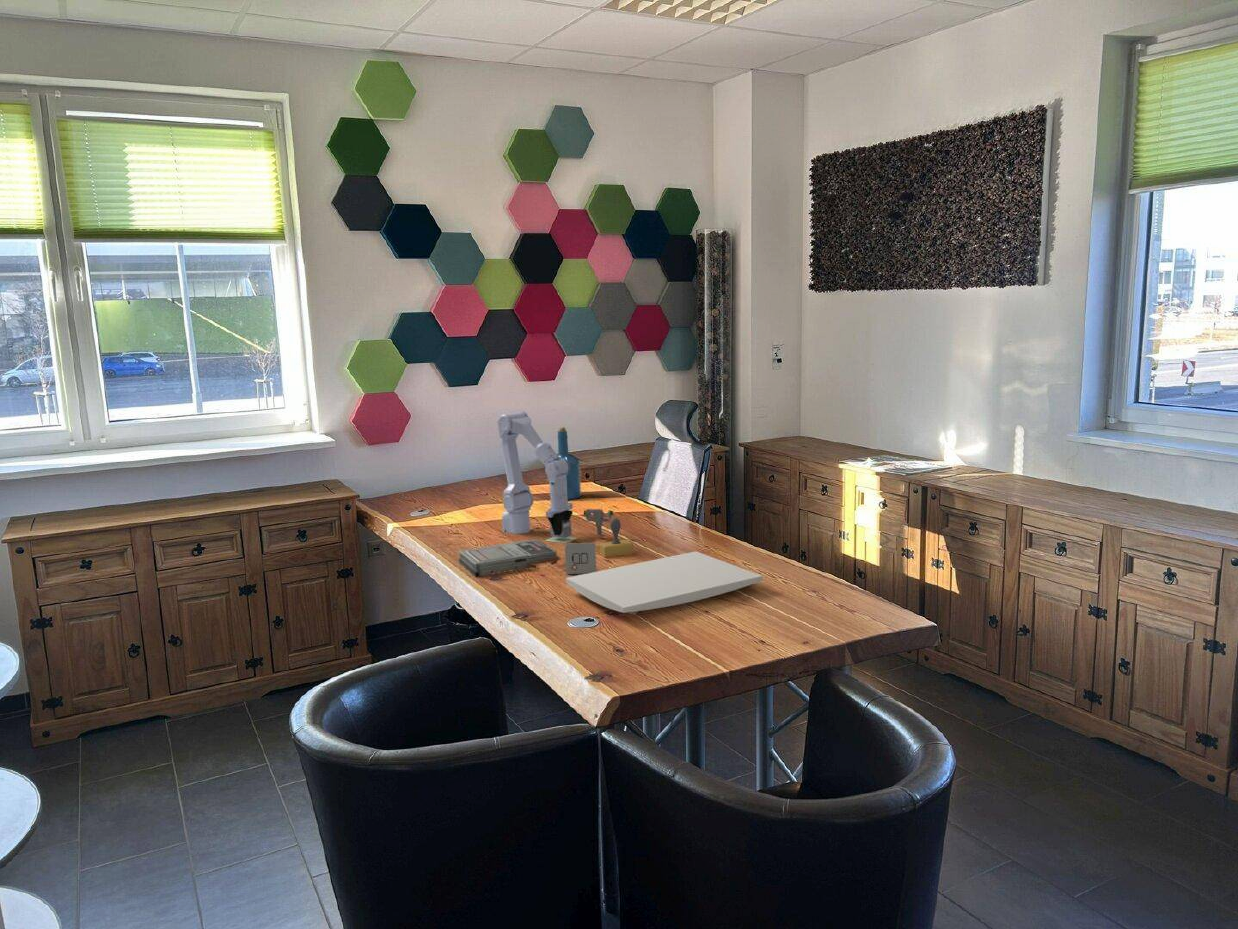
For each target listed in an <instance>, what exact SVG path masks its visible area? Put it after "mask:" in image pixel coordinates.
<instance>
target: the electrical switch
mask: <svg viewBox="0 0 1238 929" xmlns="http://www.w3.org/2000/svg"><path fill="white" fill-rule="evenodd" d="M596 548H597V547H596V543H595V542H577V543H576V542H575V543H573V542H572V543H571V542H569V543H565V545H564V555H565V556H564V557H565V560H564V561H565V573H566V575H583V574H587V573H593V572H597V557H596V555H597V554H596V553H597V551H596ZM574 567H575V569H574Z"/></svg>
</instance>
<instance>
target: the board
mask: <svg viewBox="0 0 1238 929" xmlns="http://www.w3.org/2000/svg"><path fill="white" fill-rule="evenodd" d="M761 581H763V575H761V574H759V573H756V572H754V571H753V572H752V571H750V570H747V569H744V568H742V567H739V566H736V565H734V564H731V563H728V562H726V561H723V560H720V559H717V558H714V557H712V556H709V555H707V554H704V553H701V552H699V551H691V552H686V553H681V554H677V555H673V556H672V555H671V556H666V557H662V558H657V559H656V558H655V559H653V560H648V561H642V562H637V563H632V564H628V565H622V566H618V567H612V568H609V569H603V570H598V571H596V572H593V573H588V574H577V575H574V576H569V577H566V578H565V583H566V584H567V585H569V587H571V588H572V589H574V590H575V591H577V592H578V593H579V594H581V595H582V596H583V597H586V598H587V599H588V600H590V601H592V602H594V603H595V604H598V605H600V606H602V607H604V608H608V609H609V610H612V611H617V612H620V613H628V614H630V615H636V614H637V613H638V612H639V611H647V610H649V611H650V610H654V609H661V608H666V607H671V606H677V605H682V604H687V603H690V602H691V603H692V602H696V601H700V600H703V599H708V598H711V597H715V596H718V595H722V594H726V593H730V592H734V591H736V590H739V589H742V588H745V587H747V586H751V585H753V584H756V583H759V582H761Z"/></svg>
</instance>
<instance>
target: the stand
mask: <svg viewBox="0 0 1238 929" xmlns="http://www.w3.org/2000/svg"><path fill="white" fill-rule="evenodd" d="M576 539H578V537H570V536H569V537H567V538H562V537H552V536H550V537H549V538H547V539H545V540H544V542H550V543H551V542H553V543H562V544H569V543H571V542H573V541H574V540H575V541H576Z"/></svg>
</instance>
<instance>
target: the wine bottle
mask: <svg viewBox="0 0 1238 929" xmlns="http://www.w3.org/2000/svg"><path fill="white" fill-rule="evenodd" d="M568 437H569V436H568V431H567V430H566V427H564V426H563V427H561V426H559V427H558V430H557V438H556V439H557V445H558V446H557V451H558V452H557V455H558V456H560V457H561V458H565V459H566V460H567V462H568V463H569V467H570V469H569V472H568V474H566V480H567V501H572V500H576V499H578V498H580V497H581V496H582V489H581V468H580V467H581V466H580V465H581V464H580V461H579V459H578V457H576V456H575V455H574V454H572V453H569V443H568V439H569V438H568ZM548 482H549V481H548ZM548 485H549V486H548V487H550V482H549V483H548Z"/></svg>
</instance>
